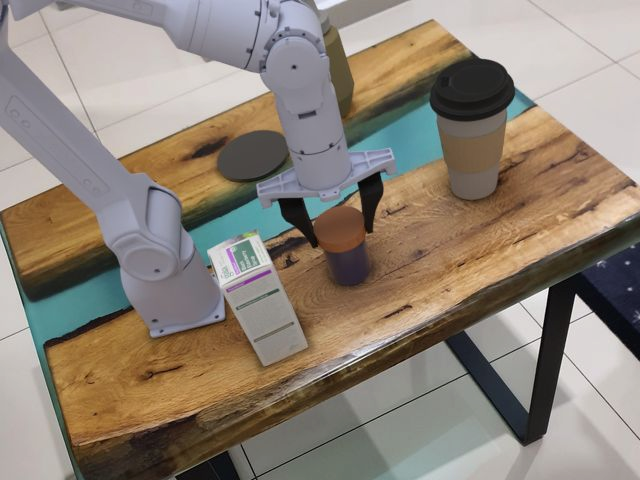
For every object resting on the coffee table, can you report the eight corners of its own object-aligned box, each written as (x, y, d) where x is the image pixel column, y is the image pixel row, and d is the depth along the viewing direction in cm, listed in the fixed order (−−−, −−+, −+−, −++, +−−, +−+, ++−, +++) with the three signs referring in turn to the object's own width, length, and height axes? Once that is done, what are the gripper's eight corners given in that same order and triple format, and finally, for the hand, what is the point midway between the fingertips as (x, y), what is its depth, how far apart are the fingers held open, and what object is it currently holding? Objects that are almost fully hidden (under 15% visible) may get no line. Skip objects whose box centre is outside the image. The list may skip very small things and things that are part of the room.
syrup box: (310, 348, 73) (275, 261, 62) (262, 369, 73) (218, 286, 61) (294, 313, 77) (258, 225, 65) (248, 334, 76) (203, 248, 65)
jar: (333, 290, 78) (320, 248, 72) (326, 260, 81) (314, 217, 75) (375, 279, 77) (366, 237, 71) (367, 249, 80) (357, 206, 75)
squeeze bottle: (298, 109, 101) (265, -9, 86) (344, 87, 101) (320, -32, 87) (319, 134, 96) (288, 15, 81) (367, 112, 97) (345, -11, 82)
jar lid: (319, 258, 72) (316, 249, 71) (312, 222, 76) (309, 213, 75) (371, 245, 72) (369, 235, 71) (361, 209, 76) (359, 199, 74)
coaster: (220, 190, 93) (218, 187, 92) (216, 144, 99) (215, 141, 99) (294, 170, 92) (293, 167, 92) (285, 125, 99) (284, 122, 98)
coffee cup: (425, 177, 86) (413, 75, 74) (489, 150, 86) (488, 44, 74) (458, 220, 80) (451, 117, 68) (527, 191, 81) (532, 83, 69)
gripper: (246, 181, 61) (284, 275, 72) (395, 140, 60) (410, 242, 71) (241, 137, 66) (277, 232, 76) (380, 98, 65) (397, 201, 75)
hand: (341, 234), depth 74 cm, fingers closed on jar lid, 6 cm apart
